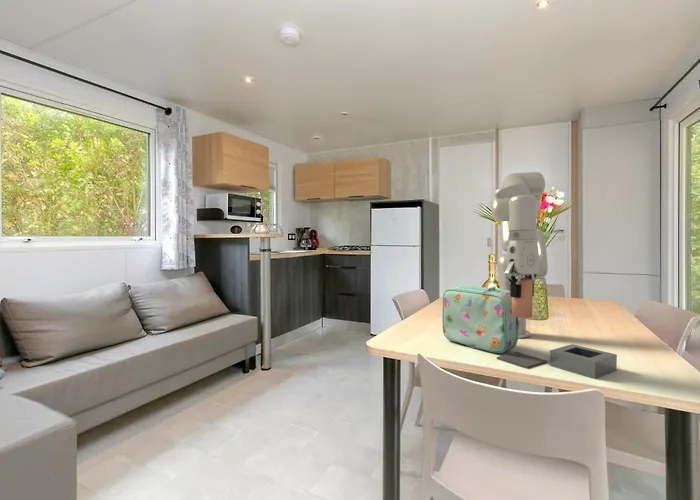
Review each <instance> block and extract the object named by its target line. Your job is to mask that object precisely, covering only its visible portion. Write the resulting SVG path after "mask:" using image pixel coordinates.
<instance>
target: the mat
mask: <svg viewBox="0 0 700 500" xmlns="http://www.w3.org/2000/svg"><path fill="white" fill-rule="evenodd" d="M496 360H499V361H502V362H505V363H508V364H511V365H515V366H518V367H521V368H524V369H531V368H533V367H537V366H540V365H543V364H546V363H548V360H546V359H543V358H540V357H536V356H532V355H530V354H529V355H528V354H525V353H521V352H518V351H515V352H510V353H506V354H502V355H500V356H496Z"/></svg>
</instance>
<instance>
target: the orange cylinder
mask: <svg viewBox="0 0 700 500" xmlns="http://www.w3.org/2000/svg"><path fill="white" fill-rule="evenodd" d="M516 279H517V277H516ZM520 284H521V298H515V297H512V316H515V317H522V318H526V319H527V318H532V317H533V296H532V295H533V280H531V279H530V278H525V277H521V279H520Z"/></svg>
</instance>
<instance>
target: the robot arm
mask: <svg viewBox="0 0 700 500" xmlns="http://www.w3.org/2000/svg"><path fill="white" fill-rule="evenodd" d="M501 183H502V184H501V187H499V188H496V189H495V190H494V192H493V196H492V198H491V203H490V209H491V216H492V219H493V220H494V221H495V222H499V223H500V224H499V225H500V246H501V249H502V250H503V251H504V252H506V253H502V254H501V255H500V256H499V257H498V259H497V263H496V264H497V271H498V280H499V289H505V290H508V291H510V296H511V297H515V298H521V284H520V279H521V277H525V278H530V279H531V280H533V295H532V297H534V296H535V283H536V279H543V278H545V277H547V274H548V268H549V266H548V265H549V264H548V254H547V253H548V252H547V243H546V235H545V233H544V232H543V230H541V229H539V228H537V222H538V221H537V219H538V216H540V214H541V204H540V203H541V200H542V197H543V194H544V192H545V189H546V180H545V177H544V175H543V174H542V173H541V172H539V171H531V172H516V173H510V174H508V175H506V176H505V177H504V178H503V180H502V182H501ZM516 277H517V279H516ZM518 318H520V322H521V326H519V335H518V339H525V338H530V336H531V332H530V331H529V330H527V318H522V317H518Z"/></svg>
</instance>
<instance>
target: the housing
mask: <svg viewBox="0 0 700 500" xmlns="http://www.w3.org/2000/svg"><path fill="white" fill-rule="evenodd" d="M617 357H618V354H617V353H611V352H608V351H603V350H599V349H594V348H591V347H587V346H581V345H578V344H573V343H571V344H568V345H565V346H560V347H557V348H554V349H550V350H549V366H550V367H553V368H557V369H560V370H563V371H566V372H571V373H575V374H577V375H581V376H584V377H586V378H587V377H588V378H590V379H595V380H596V379H599V378H601V377H603V376H606V375H609V374H611V373H614V372H616V371H617V365H618V363H617V361H618V358H617Z"/></svg>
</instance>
